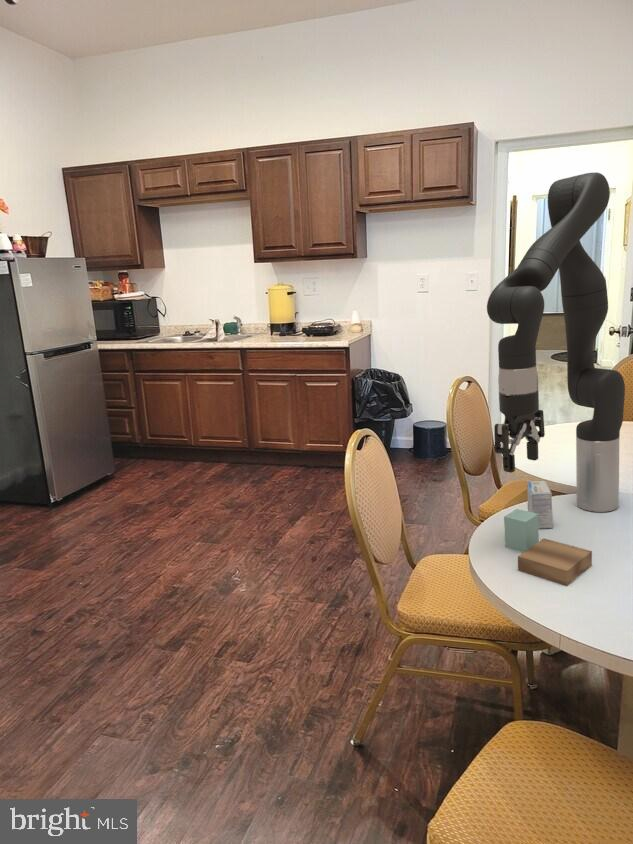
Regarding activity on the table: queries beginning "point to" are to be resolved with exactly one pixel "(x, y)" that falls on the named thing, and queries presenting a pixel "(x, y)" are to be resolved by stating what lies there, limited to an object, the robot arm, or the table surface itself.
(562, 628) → the table surface
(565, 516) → the table surface
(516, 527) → the teal block
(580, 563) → the walnut base
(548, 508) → the medicine box
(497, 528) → the table surface
